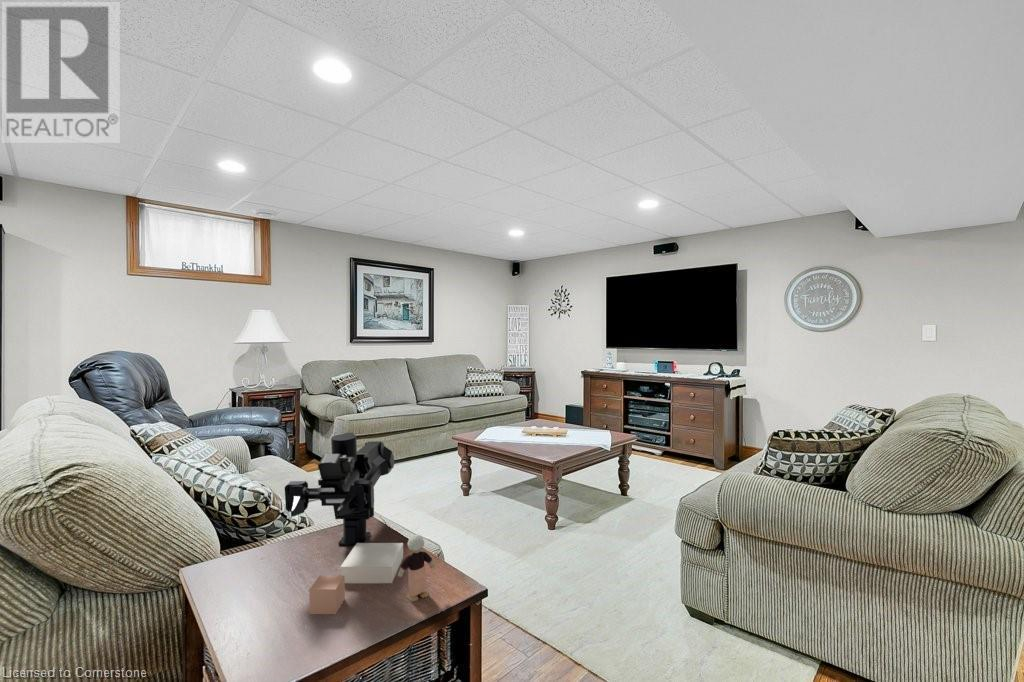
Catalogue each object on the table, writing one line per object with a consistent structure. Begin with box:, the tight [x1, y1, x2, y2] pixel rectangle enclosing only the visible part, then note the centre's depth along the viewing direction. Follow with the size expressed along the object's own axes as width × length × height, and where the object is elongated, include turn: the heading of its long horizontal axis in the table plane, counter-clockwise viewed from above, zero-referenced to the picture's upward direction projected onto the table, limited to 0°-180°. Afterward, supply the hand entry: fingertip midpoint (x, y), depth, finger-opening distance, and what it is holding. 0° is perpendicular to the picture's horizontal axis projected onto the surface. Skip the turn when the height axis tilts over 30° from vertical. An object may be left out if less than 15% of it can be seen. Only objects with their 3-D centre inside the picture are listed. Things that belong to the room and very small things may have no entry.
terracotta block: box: [308, 575, 346, 615], centre depth 92 cm, size 5×5×5 cm
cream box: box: [339, 542, 404, 584], centre depth 106 cm, size 11×11×4 cm
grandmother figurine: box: [397, 533, 436, 603], centre depth 96 cm, size 8×4×13 cm, turn 135°
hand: (314, 513), depth 95 cm, fingers open, 9 cm apart
